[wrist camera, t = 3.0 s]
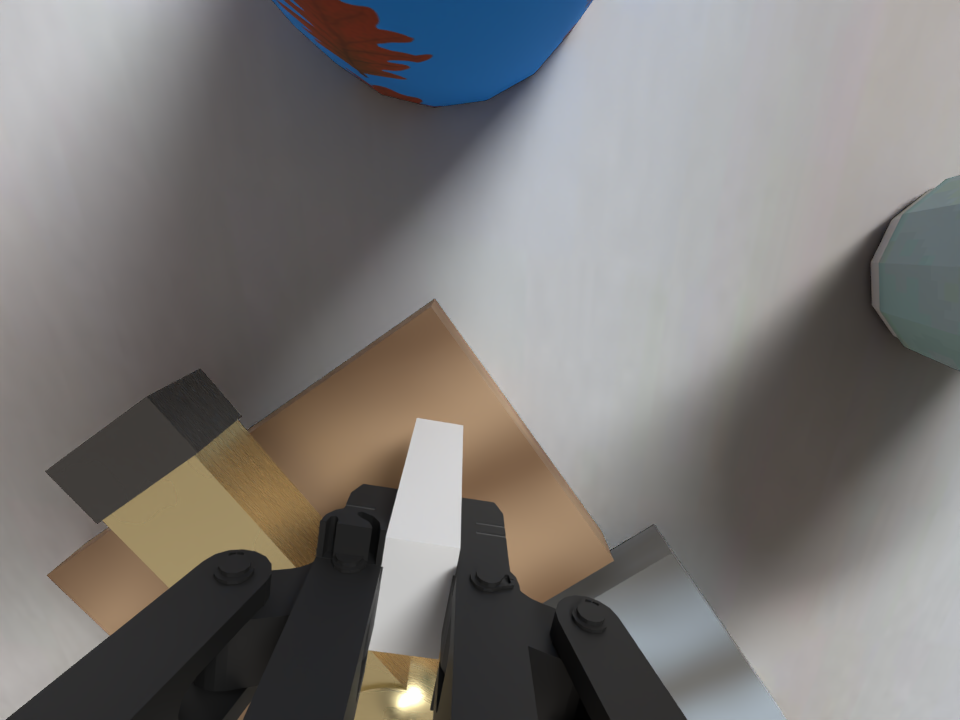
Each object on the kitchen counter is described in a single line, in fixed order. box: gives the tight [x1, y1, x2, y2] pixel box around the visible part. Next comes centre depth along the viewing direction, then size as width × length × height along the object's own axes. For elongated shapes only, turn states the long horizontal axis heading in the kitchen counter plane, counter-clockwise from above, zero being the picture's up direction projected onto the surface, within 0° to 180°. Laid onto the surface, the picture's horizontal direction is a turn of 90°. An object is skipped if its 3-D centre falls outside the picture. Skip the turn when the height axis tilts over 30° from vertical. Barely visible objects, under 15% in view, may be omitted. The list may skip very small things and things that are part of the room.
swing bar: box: [45, 369, 441, 720], centre depth 18 cm, size 15×4×3 cm, turn 35°
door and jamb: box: [47, 299, 787, 720], centre depth 21 cm, size 24×20×5 cm
